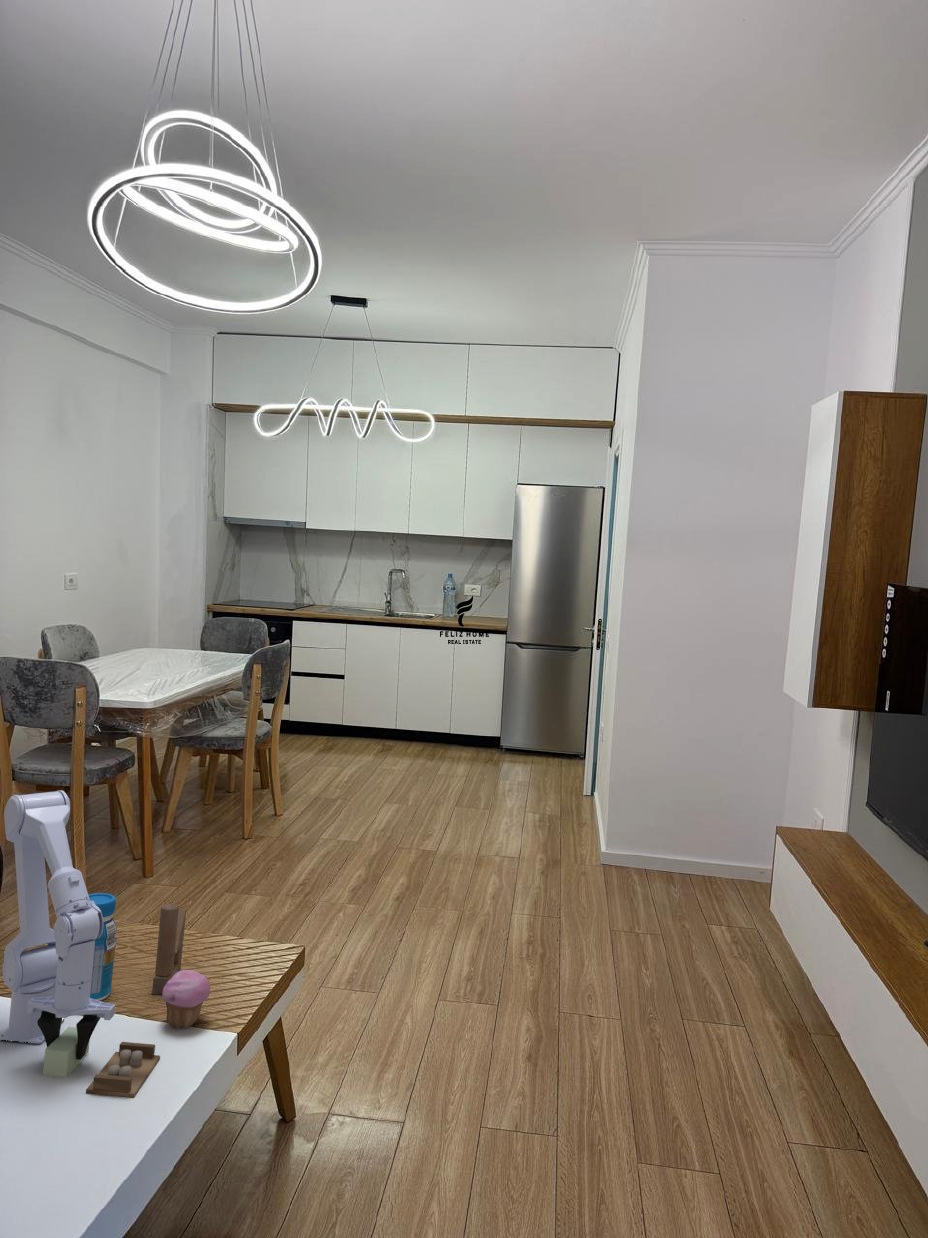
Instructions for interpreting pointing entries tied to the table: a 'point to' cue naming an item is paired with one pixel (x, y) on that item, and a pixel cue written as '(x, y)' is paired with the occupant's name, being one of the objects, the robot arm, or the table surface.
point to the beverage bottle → (104, 948)
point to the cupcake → (185, 997)
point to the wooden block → (169, 945)
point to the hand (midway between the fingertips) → (66, 1055)
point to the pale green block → (62, 1054)
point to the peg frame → (125, 1070)
